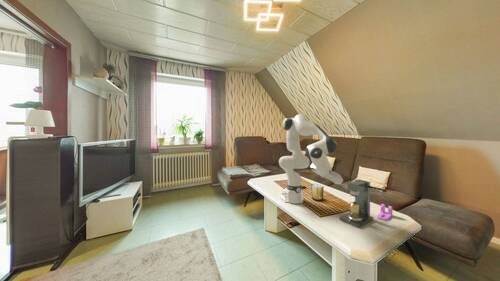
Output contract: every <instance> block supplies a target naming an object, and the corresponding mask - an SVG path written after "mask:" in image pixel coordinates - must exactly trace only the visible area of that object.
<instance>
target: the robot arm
mask: <svg viewBox="0 0 500 281" xmlns="http://www.w3.org/2000/svg"><path fill="white" fill-rule="evenodd" d="M282 128H283V130H284V131H286V149H287V151H288V152H290V153H292V154H293V155H284V156H281V157H280V158H279V159H278V165H279V167H280V168H281V169H282V170H284V172H285V174H286V178H287V183H286V187H285V188H284V189H283V190H282V194H280V195H279V197H280V198H281V199H282V201H284V203H288V204H295V205H296V204H302V203H303V202H304V195H303V190H302V189H303V186H302V177H301V175H300V173H298V172H296V171H294V169H295V170H296V169H297V170H299V169H301V170H302V169H306V168H308V167H309V168H310V169H311V171H312V172H313V173H315V174H317V175H318V176H320V177H321V178H322V179H327V180H329V181H330V182H333V184H334V185H335V186H336V185H342V183H343V182H344V178H343V177H342V176H341V174H339V173H338V172H335V171H333V170H332V165H331V164H330V162H329V159H328V157H327V155H329V154H333V153H335V152H336V150H337V149H338V145H337V142H336V141H335V139H334V138H332V137H331V136H330V135H328V133H327V132H326V131H324V129H323V128H321V127H320V125H318V124H317V123H311V121H310V120H309V119H308V117H307V116H306V115H305V114H304V113H303V114H302V113H299V114H296V115H295V116H294V117H286V118H284V119H283V120H282ZM313 135H314V136H315V135H317V136H319V137H320V140H318V141H316V142H314V143H311V144H309V145H307V146H306V148H305V154H306V155H305V154H304V153H303V151H302V149H301V143H300V136H303V137H308V136H313ZM310 163H311V164H310Z"/></svg>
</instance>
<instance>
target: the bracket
mask: <svg viewBox="0 0 500 281" xmlns="http://www.w3.org/2000/svg"><path fill="white" fill-rule="evenodd" d="M392 217H393V206H391V205H389V206H388V208H387V211H386V205H385V204H384V203H381V204H380V212H379V213H378V214H377V215H376V218H377V219H378V220H381V221H386V222H387V221H389V220H390V219H391V218H392Z"/></svg>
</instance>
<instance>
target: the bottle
mask: <svg viewBox="0 0 500 281" xmlns="http://www.w3.org/2000/svg"><path fill="white" fill-rule="evenodd" d="M349 211H350V212H349V213H350V217H351V218H354V219H359V204H358V203H356V202H355V200H354V201H350V203H349Z"/></svg>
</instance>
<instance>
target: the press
mask: <svg viewBox="0 0 500 281" xmlns="http://www.w3.org/2000/svg"><path fill="white" fill-rule="evenodd" d="M347 189H348V190H349V191H350V192H349V194H350V196H351V197H354V201H355V202H356V203H358V204H359V219H354V218H351V217H350V212H347V213H345V214H343V215H341V216H339V221H341V222H342V223H343V222H344V223H345V224H348V225H350V226H352V227H355V228H357V229H360V228H362V227H363V226H365V225H367V224H369V223H371V222H373V221H374V216H371V213H370V212H371V189H372V190H377V191H381V192H382V193H387V188H385V187H384V188H380V187H376V186H372V185H371V181H367V180H362V179H358V178H357V179H355V180H353V181H350V182H347Z"/></svg>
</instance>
